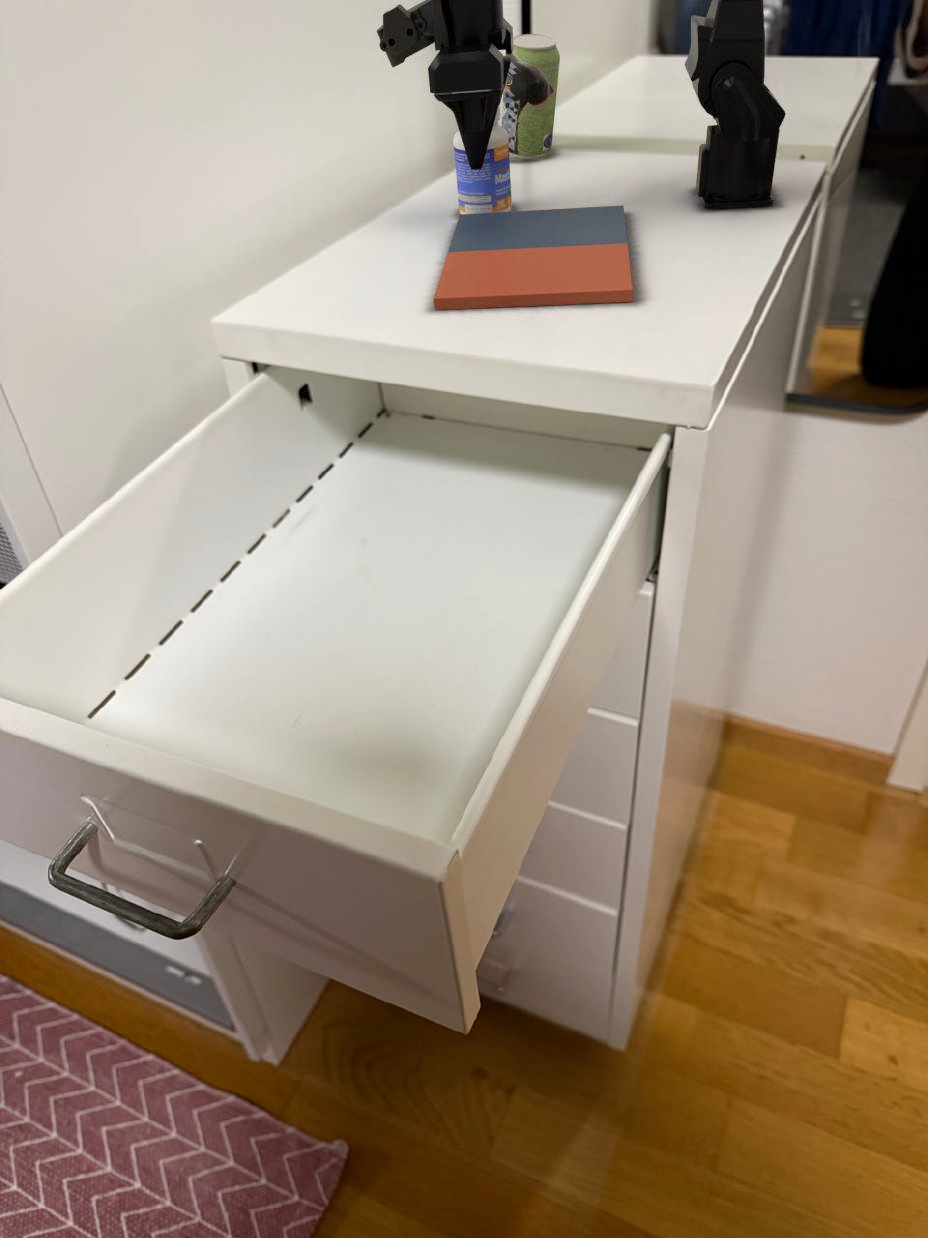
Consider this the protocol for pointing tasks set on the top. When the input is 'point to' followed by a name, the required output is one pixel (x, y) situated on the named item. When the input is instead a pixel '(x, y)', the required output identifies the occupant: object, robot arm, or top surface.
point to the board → (537, 259)
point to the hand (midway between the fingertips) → (480, 155)
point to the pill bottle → (485, 175)
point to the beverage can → (531, 95)
